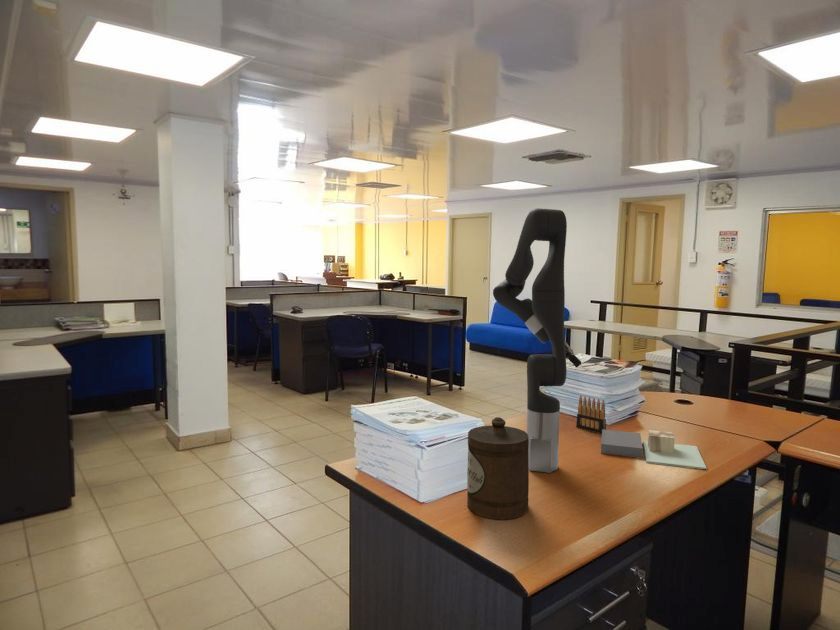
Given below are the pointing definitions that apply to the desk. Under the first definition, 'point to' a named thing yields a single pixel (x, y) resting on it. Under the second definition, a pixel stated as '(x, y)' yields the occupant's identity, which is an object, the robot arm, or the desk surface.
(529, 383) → the robot arm
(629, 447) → the plate
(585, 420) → the ammunition clip
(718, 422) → the desk surface
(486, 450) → the wooden container
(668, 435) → the birch block
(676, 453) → the mat
